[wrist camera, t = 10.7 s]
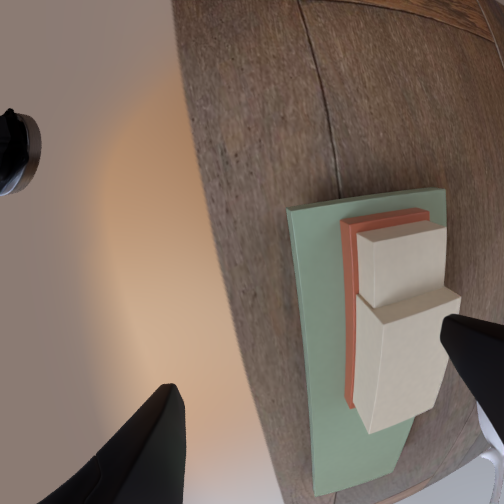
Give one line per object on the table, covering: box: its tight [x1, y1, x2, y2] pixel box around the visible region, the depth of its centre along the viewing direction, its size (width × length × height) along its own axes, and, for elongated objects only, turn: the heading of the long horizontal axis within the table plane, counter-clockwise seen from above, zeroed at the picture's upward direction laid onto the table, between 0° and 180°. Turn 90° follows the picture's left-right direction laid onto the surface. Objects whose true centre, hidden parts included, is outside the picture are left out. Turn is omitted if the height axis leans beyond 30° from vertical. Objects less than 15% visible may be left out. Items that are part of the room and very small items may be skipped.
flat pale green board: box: [286, 187, 446, 497], centre depth 22 cm, size 36×11×3 cm, turn 10°
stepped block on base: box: [340, 207, 461, 434], centre depth 15 cm, size 14×6×5 cm, turn 10°
